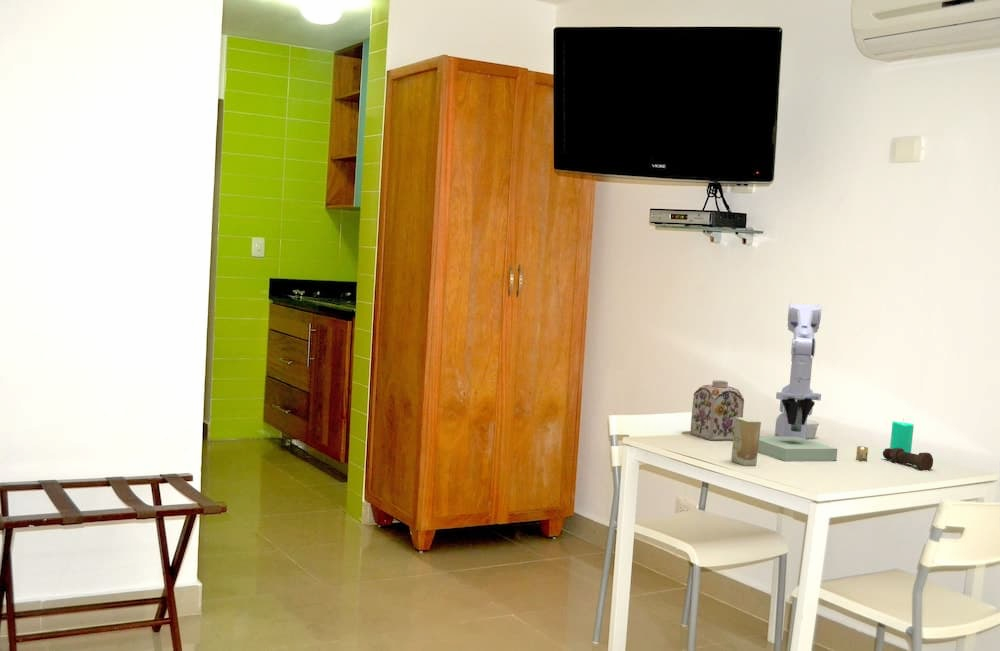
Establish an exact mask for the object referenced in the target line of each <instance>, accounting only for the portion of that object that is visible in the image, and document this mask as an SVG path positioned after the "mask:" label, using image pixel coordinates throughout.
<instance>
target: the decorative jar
mask: <svg viewBox="0 0 1000 651" xmlns="http://www.w3.org/2000/svg"><path fill="white" fill-rule="evenodd" d="M728 383H729V382H728V381H727V380H722V379H721V380H717V379H715V380H714V379H713V380H712V384H704V385H701V386H700V387H699V388H698V389H697V390H695V391H694V393H693V397H692V398H693V399H692V409H691V419H690V434H691V435H694V436H697V437H699V438H703V439H705V440H708V441H733V438H734V429H735V420H736V418H739V417H741V418H744V416H743V415H744V408H745V407H744V405H745V398H744V396H743V394H742V393H741V391H740V390H739V388H736V387H732V386H729V384H728Z"/></svg>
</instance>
